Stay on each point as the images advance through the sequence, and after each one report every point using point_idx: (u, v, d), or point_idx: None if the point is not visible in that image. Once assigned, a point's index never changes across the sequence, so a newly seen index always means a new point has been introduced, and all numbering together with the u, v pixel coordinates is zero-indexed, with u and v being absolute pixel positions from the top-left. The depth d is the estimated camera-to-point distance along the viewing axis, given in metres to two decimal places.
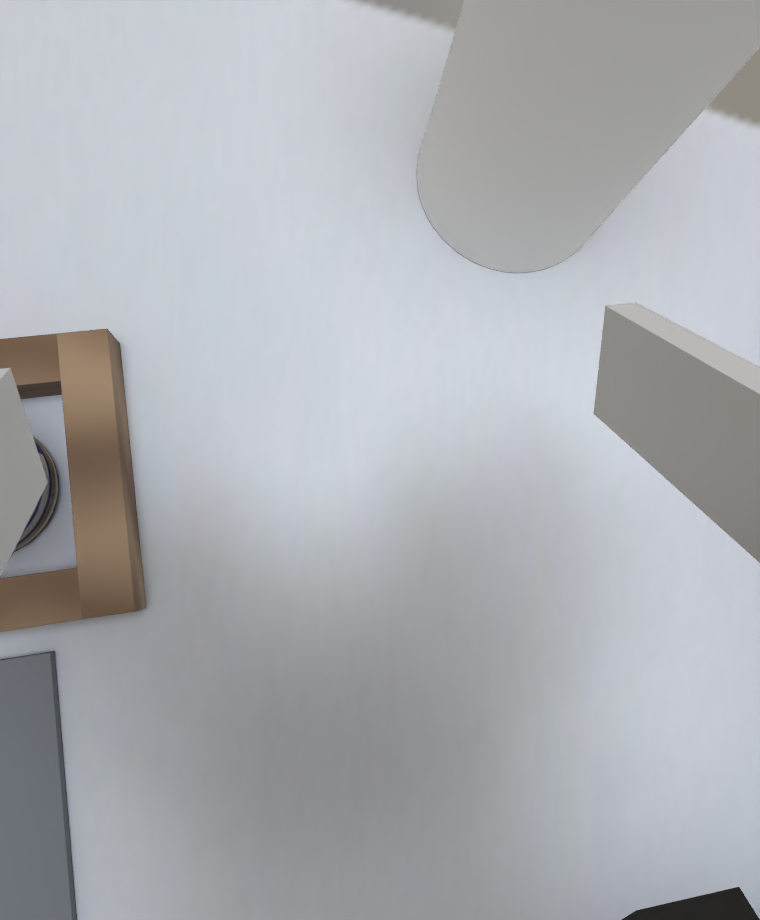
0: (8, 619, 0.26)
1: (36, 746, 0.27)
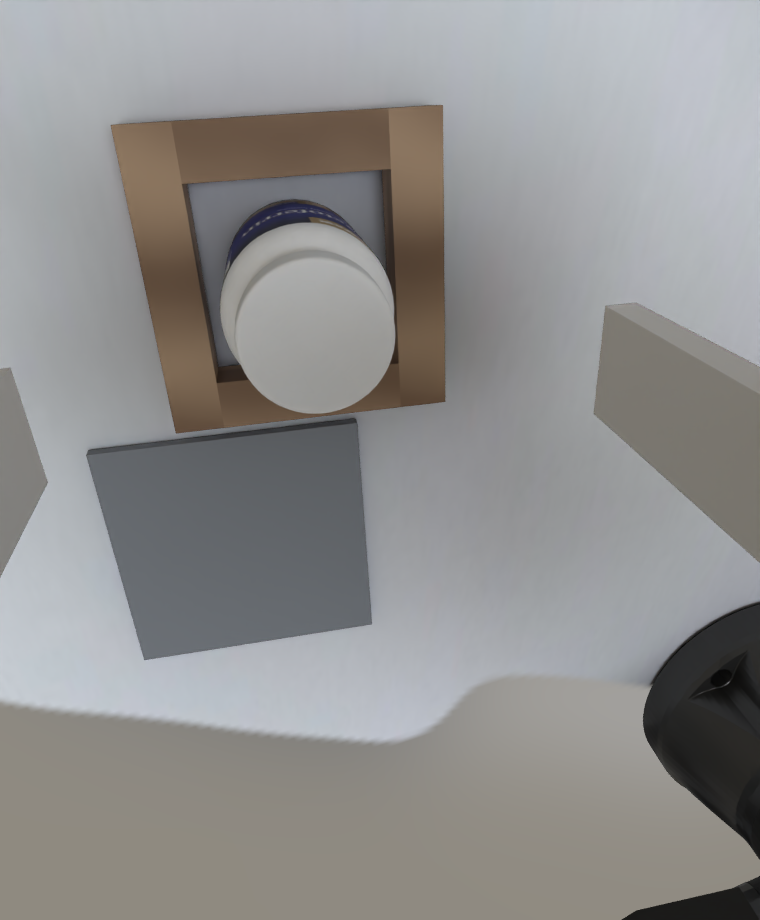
0: None
1: (345, 491, 0.33)
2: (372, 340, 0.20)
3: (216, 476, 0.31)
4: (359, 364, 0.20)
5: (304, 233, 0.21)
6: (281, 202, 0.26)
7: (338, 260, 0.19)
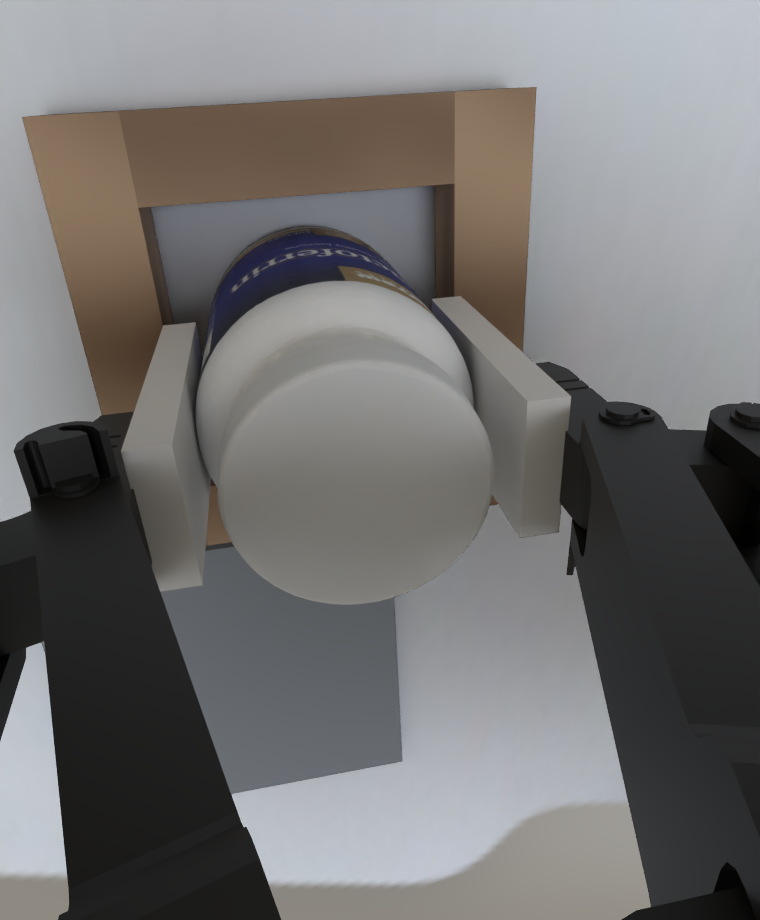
0: None
1: (372, 608, 0.25)
2: (455, 491, 0.12)
3: (199, 596, 0.23)
4: (431, 529, 0.12)
5: (336, 303, 0.12)
6: (289, 231, 0.18)
7: (403, 363, 0.11)
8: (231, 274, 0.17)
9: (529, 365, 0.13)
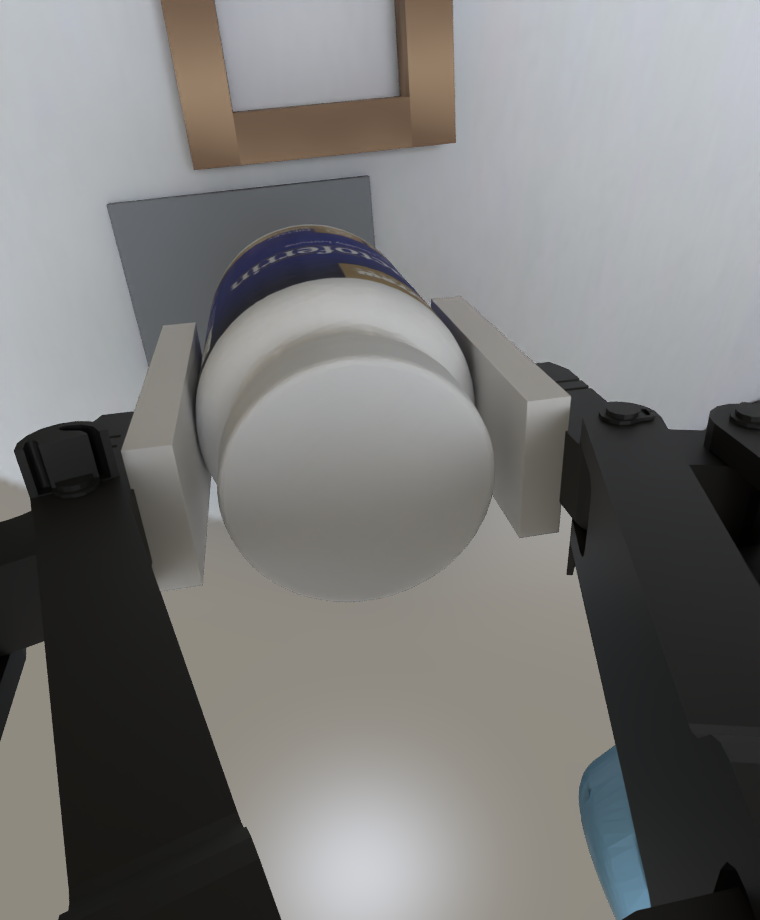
0: (352, 143, 0.30)
1: None
2: (456, 488, 0.12)
3: (233, 233, 0.32)
4: (432, 526, 0.12)
5: (337, 299, 0.12)
6: (289, 229, 0.18)
7: (403, 360, 0.11)
8: (231, 272, 0.17)
9: (529, 365, 0.13)
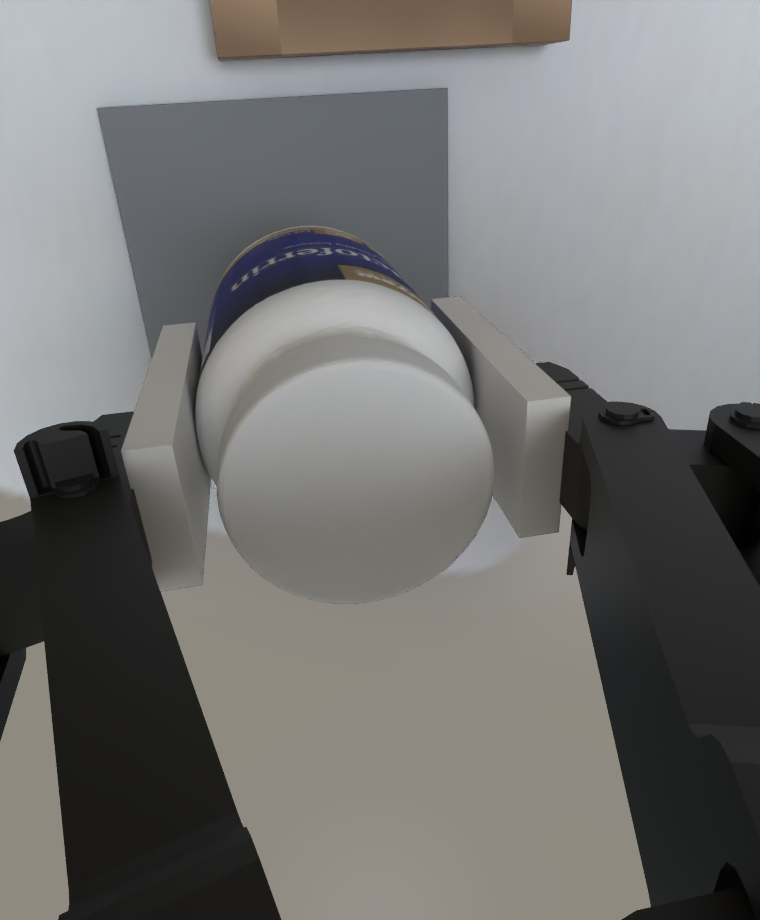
0: (432, 32, 0.22)
1: (427, 195, 0.26)
2: (455, 490, 0.12)
3: (265, 156, 0.24)
4: (432, 528, 0.12)
5: (336, 302, 0.12)
6: (289, 230, 0.18)
7: (403, 362, 0.11)
8: (231, 273, 0.17)
9: (529, 365, 0.13)
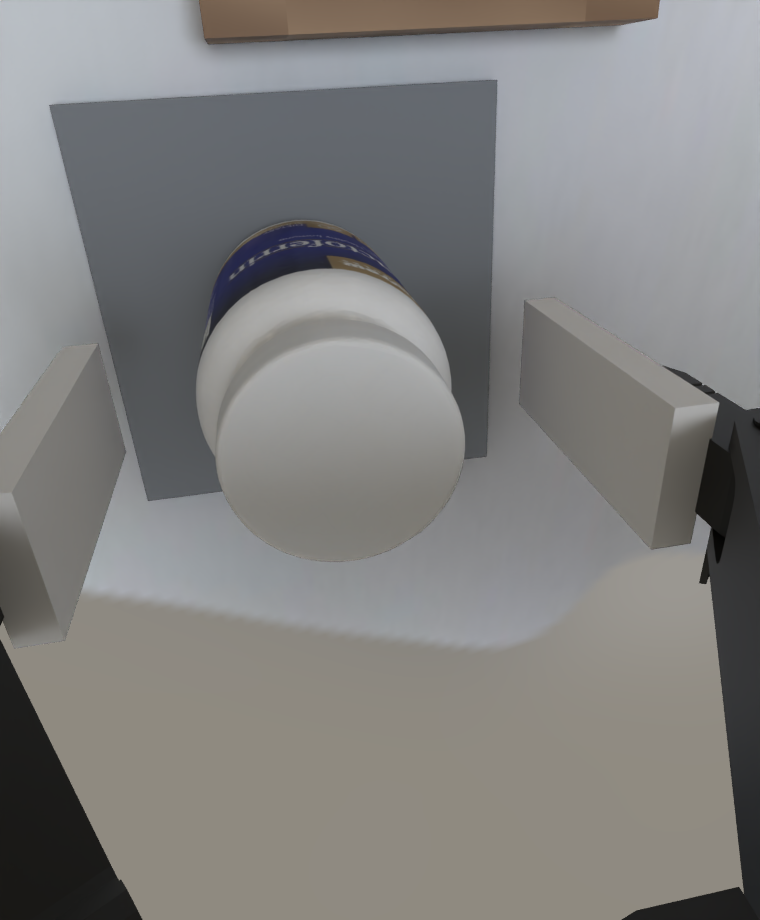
0: (484, 7, 0.17)
1: (468, 214, 0.21)
2: (429, 457, 0.13)
3: (266, 166, 0.19)
4: (408, 492, 0.13)
5: (324, 288, 0.13)
6: (284, 224, 0.19)
7: (381, 341, 0.12)
8: (229, 264, 0.18)
9: (659, 370, 0.12)
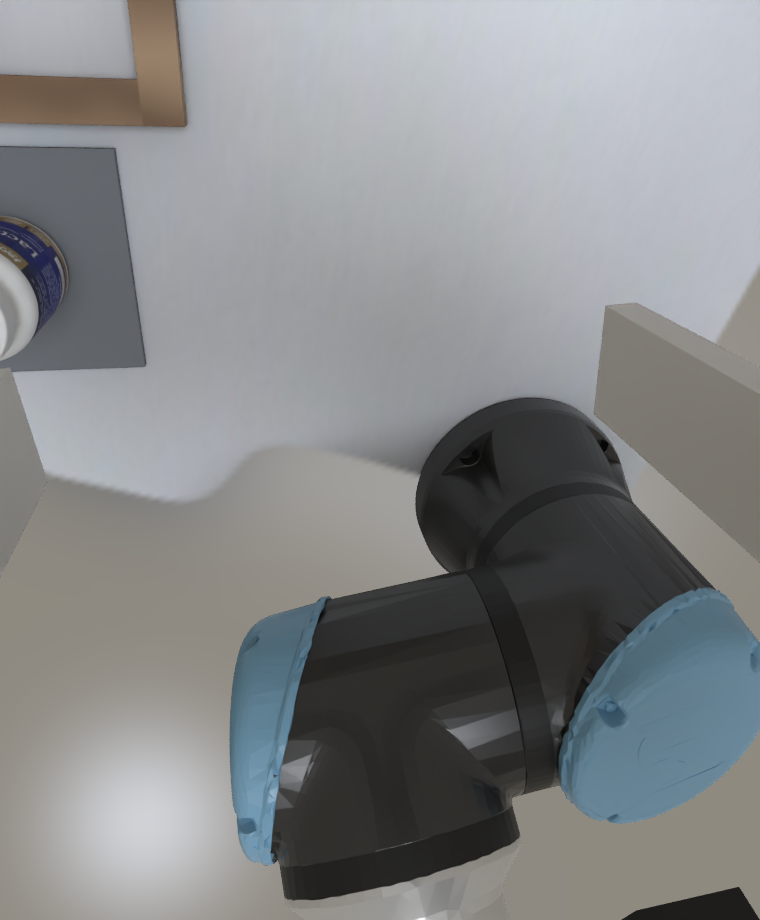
0: (84, 115, 0.33)
1: (108, 220, 0.37)
2: None
3: None
4: None
5: None
6: None
7: None
8: None
9: None
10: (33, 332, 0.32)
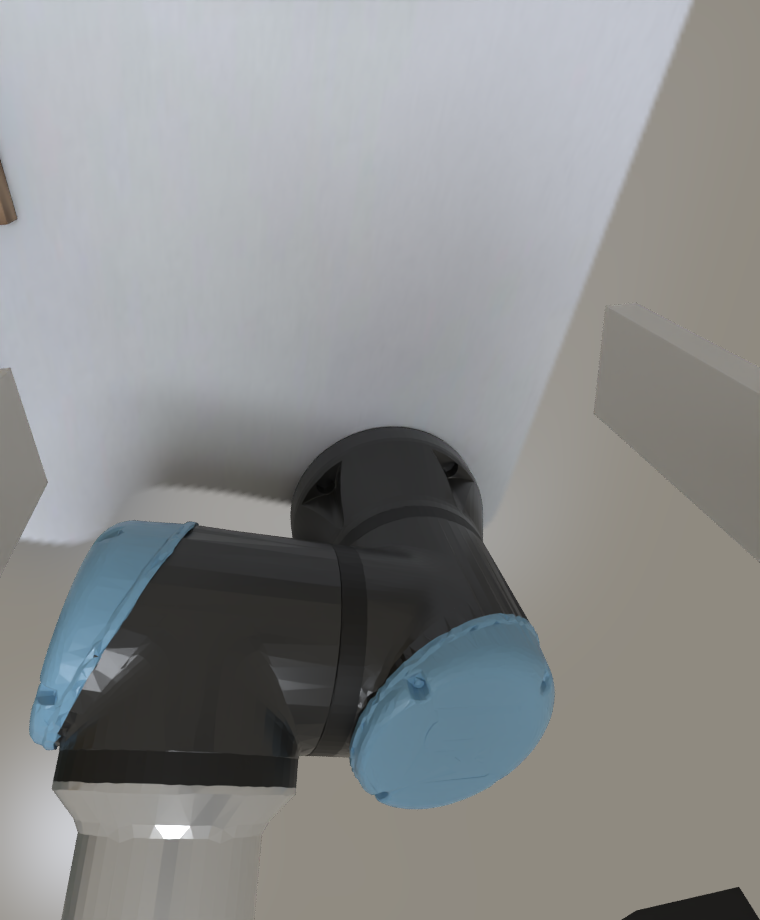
0: None
1: None
2: None
3: None
4: None
5: None
6: None
7: None
8: None
9: None
10: None
